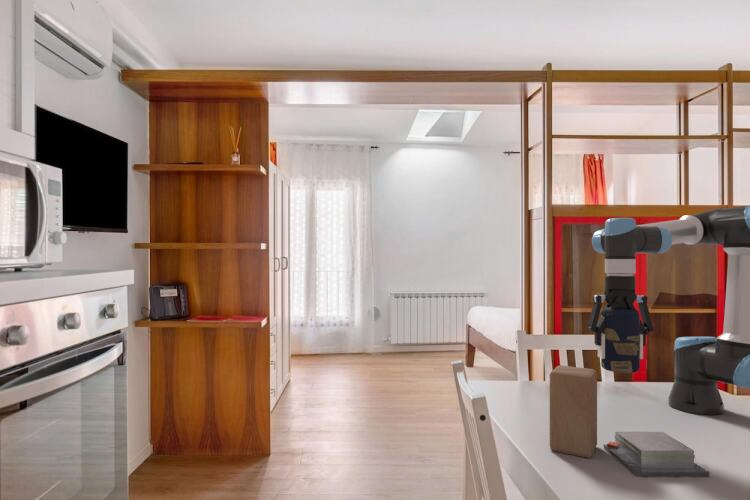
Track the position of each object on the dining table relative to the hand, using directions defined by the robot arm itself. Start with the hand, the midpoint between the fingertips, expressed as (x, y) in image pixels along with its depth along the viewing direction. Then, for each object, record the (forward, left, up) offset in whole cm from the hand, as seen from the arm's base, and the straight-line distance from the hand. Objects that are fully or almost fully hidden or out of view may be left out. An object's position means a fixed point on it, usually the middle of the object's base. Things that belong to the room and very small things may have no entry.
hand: (620, 357), depth 133 cm
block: (+16, +8, -22) cm, 28 cm away
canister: (0, 0, -4) cm, 4 cm away
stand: (0, +15, -22) cm, 26 cm away
